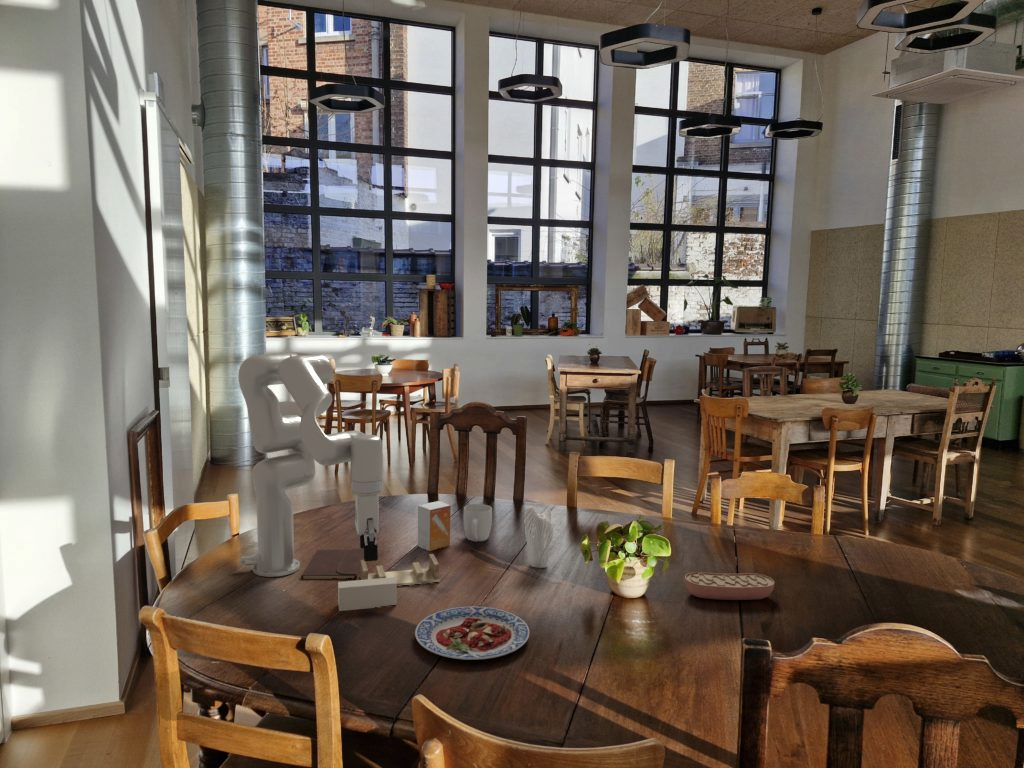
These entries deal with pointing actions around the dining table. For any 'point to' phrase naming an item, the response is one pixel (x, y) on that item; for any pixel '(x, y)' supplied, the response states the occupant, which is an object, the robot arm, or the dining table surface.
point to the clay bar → (367, 593)
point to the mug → (477, 521)
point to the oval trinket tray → (729, 585)
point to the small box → (434, 525)
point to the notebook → (334, 564)
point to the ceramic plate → (472, 633)
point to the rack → (406, 573)
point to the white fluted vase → (538, 536)
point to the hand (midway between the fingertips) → (368, 554)
